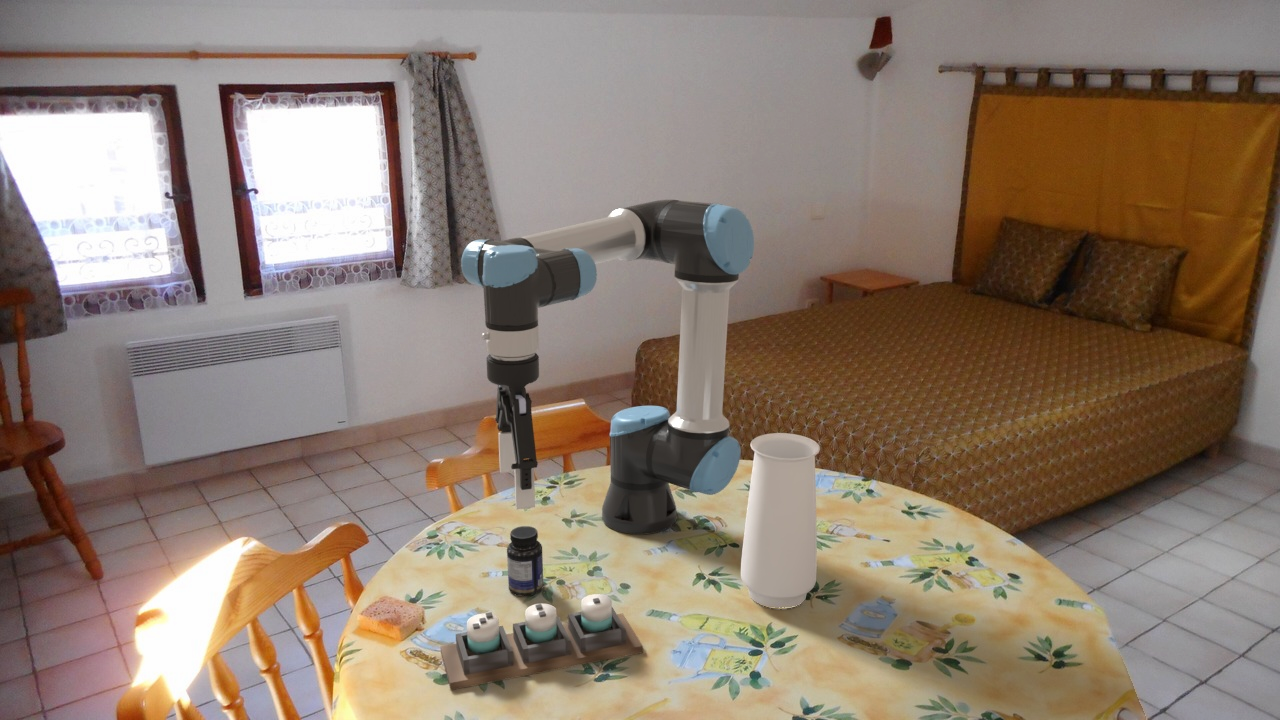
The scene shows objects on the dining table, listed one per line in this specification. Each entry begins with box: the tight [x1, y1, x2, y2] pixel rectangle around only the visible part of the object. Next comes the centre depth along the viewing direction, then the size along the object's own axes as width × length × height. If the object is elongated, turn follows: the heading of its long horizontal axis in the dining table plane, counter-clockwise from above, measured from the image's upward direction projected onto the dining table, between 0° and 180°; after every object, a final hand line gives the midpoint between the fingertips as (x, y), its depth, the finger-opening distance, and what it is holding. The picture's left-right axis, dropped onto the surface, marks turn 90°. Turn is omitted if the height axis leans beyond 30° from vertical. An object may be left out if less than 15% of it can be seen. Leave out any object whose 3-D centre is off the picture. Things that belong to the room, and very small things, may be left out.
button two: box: [524, 603, 557, 643], centre depth 152 cm, size 5×5×4 cm
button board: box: [439, 606, 644, 691], centre depth 153 cm, size 30×10×4 cm, turn 109°
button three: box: [466, 612, 500, 654], centre depth 149 cm, size 5×5×4 cm
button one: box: [580, 593, 613, 633], centre depth 155 cm, size 5×5×4 cm
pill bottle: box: [506, 525, 544, 597], centre depth 171 cm, size 6×6×11 cm
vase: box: [740, 432, 821, 608], centre depth 167 cm, size 13×13×28 cm
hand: (516, 488), depth 148 cm, fingers open, 13 cm apart
